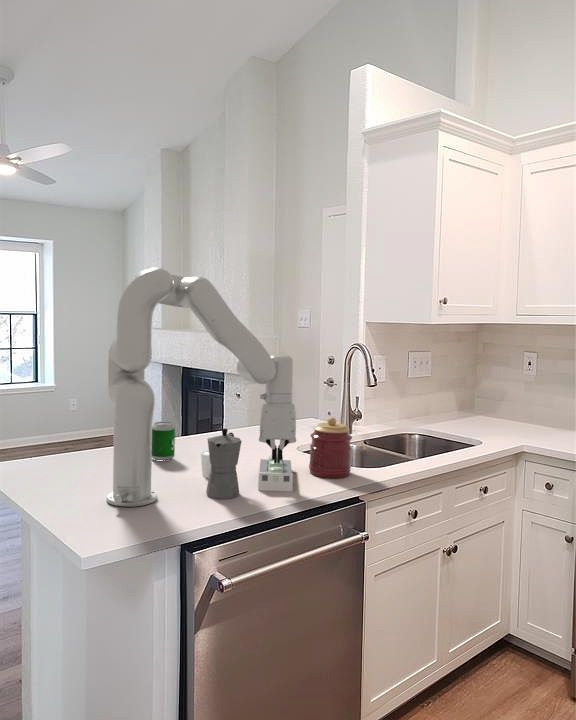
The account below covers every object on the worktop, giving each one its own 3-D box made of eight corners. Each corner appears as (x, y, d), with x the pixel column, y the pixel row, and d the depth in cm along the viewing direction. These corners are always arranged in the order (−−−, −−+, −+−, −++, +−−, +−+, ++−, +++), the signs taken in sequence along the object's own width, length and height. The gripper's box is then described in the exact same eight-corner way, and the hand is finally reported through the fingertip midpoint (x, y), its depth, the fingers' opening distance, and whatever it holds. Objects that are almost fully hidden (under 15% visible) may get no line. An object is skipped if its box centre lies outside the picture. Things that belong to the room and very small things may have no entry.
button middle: (283, 474, 179) (283, 464, 179) (268, 473, 179) (268, 464, 179) (282, 470, 183) (283, 460, 183) (268, 469, 183) (268, 460, 183)
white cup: (201, 479, 178) (202, 455, 178) (199, 473, 185) (199, 450, 184) (225, 478, 180) (225, 455, 179) (221, 472, 187) (222, 449, 186)
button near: (283, 480, 172) (283, 470, 172) (267, 480, 172) (268, 470, 172) (283, 476, 176) (283, 466, 176) (267, 475, 176) (268, 466, 176)
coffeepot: (233, 503, 157) (235, 434, 156) (198, 500, 159) (200, 432, 157) (247, 486, 172) (249, 424, 171) (214, 484, 174) (216, 421, 172)
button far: (282, 467, 186) (283, 458, 186) (268, 467, 186) (268, 458, 186) (282, 464, 190) (282, 455, 190) (268, 463, 190) (268, 455, 190)
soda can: (168, 463, 195) (169, 426, 195) (147, 461, 197) (147, 424, 196) (177, 457, 203) (178, 422, 202) (156, 455, 204) (157, 420, 203)
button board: (292, 491, 169) (293, 474, 169) (258, 490, 169) (258, 472, 169) (290, 469, 193) (290, 454, 192) (260, 468, 193) (260, 453, 192)
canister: (358, 476, 188) (361, 420, 186) (323, 480, 181) (325, 422, 180) (335, 466, 199) (337, 413, 198) (301, 470, 193) (303, 415, 191)
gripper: (251, 400, 168) (250, 465, 170) (305, 401, 169) (303, 466, 170) (252, 396, 176) (251, 458, 177) (304, 397, 176) (302, 459, 178)
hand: (276, 462), depth 174 cm, fingers closed
